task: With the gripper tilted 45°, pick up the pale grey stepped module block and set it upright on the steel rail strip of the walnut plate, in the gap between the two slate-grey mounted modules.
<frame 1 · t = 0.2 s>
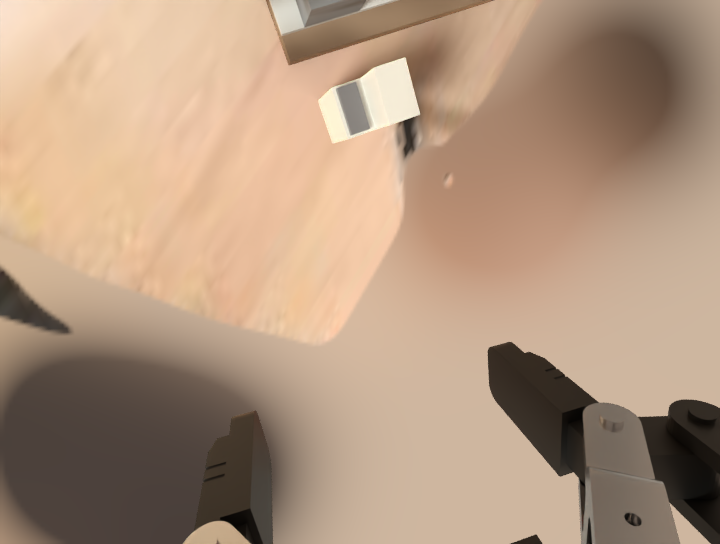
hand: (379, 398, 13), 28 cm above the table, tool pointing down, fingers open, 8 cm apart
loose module: (349, 114, 38), on the table
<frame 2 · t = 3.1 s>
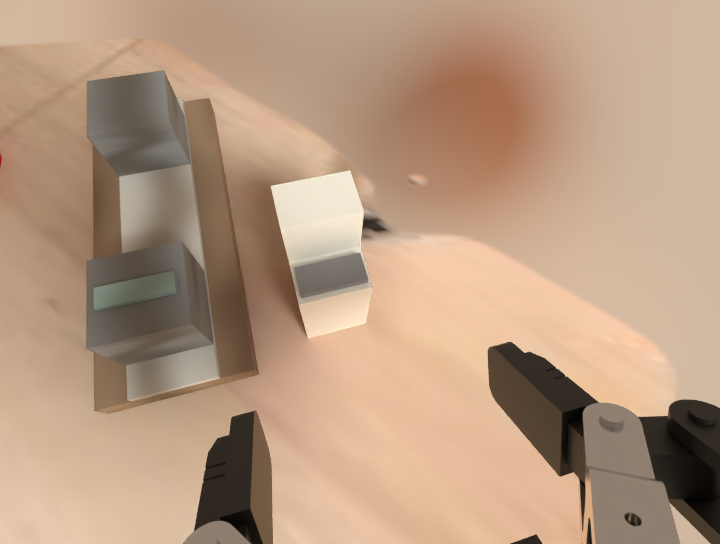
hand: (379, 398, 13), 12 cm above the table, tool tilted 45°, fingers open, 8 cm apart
rail plate: (170, 236, 29), on the table
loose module: (328, 297, 28), on the table
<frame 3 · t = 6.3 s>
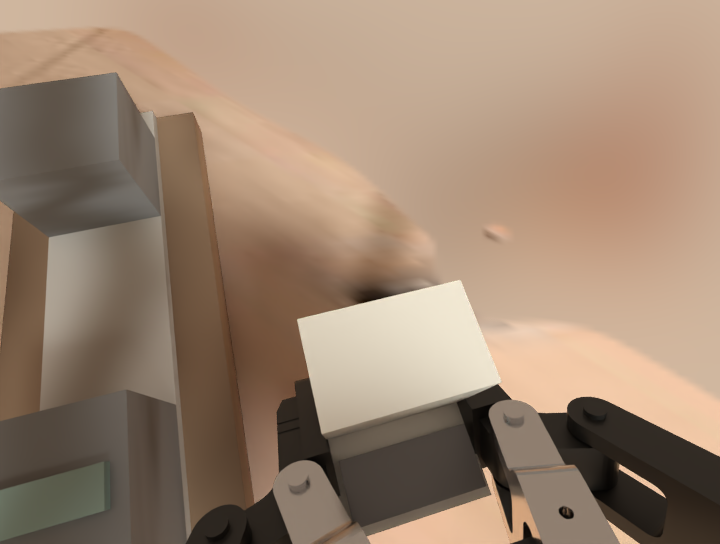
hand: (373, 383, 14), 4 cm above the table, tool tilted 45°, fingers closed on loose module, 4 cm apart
rail plate: (129, 327, 19), on the table
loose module: (375, 432, 17), on the table, touching gripper
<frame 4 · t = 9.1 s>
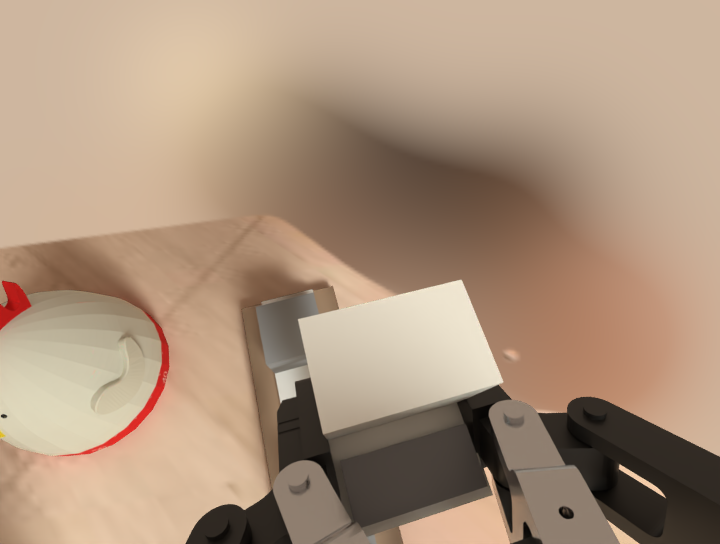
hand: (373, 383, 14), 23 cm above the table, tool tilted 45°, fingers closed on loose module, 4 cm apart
kitchen timer: (94, 373, 37), on the table
rail plate: (315, 419, 36), on the table
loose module: (376, 432, 17), point 19 cm above the table, touching gripper
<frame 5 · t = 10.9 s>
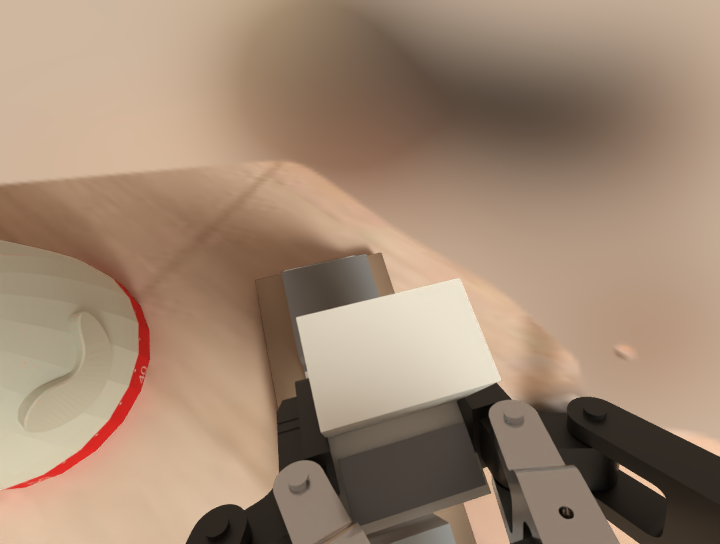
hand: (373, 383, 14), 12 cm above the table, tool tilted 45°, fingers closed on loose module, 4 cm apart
kitchen timer: (39, 368, 26), on the table
rail plate: (361, 438, 25), on the table
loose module: (375, 431, 17), point 8 cm above the table, touching gripper
when the fingers open (7 cm above the table, at t = 12.2 s): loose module stays where it is, resting on rail plate.
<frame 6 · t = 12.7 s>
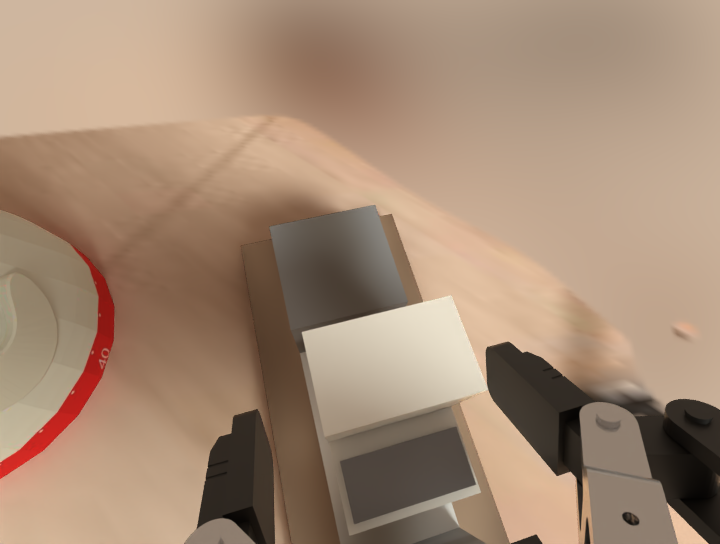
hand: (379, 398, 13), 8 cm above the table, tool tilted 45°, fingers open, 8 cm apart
rail plate: (370, 435, 20), on the table
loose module: (374, 433, 18), point 2 cm above the table, touching rail plate
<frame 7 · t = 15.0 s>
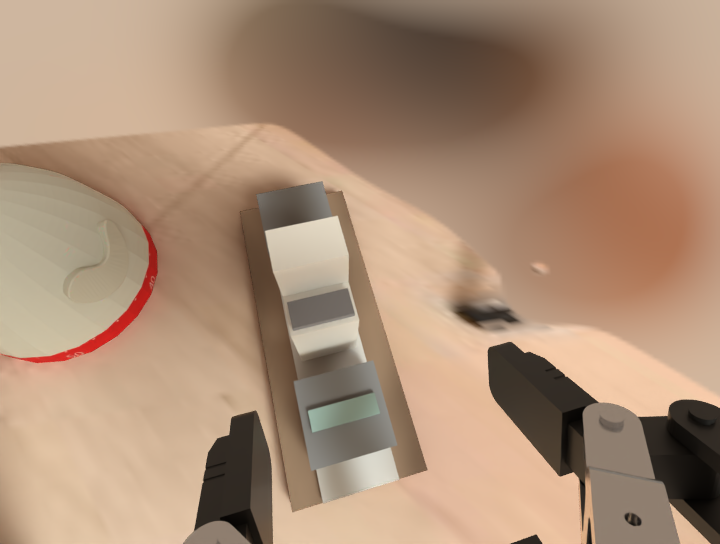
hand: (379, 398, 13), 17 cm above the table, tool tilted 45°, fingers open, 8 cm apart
kitchen timer: (72, 279, 33), on the table
rail plate: (322, 329, 31), on the table
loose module: (321, 322, 30), point 2 cm above the table, touching rail plate
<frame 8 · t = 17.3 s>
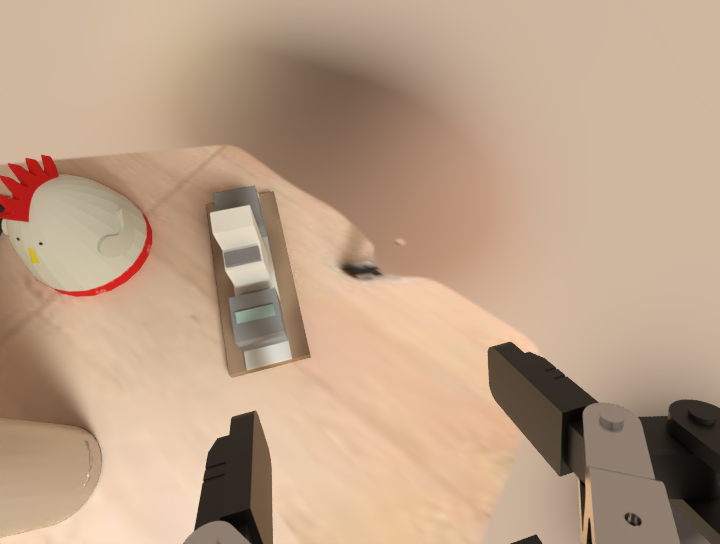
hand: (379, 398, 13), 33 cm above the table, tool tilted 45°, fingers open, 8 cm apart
kitchen timer: (97, 247, 51), on the table
rail plate: (256, 278, 50), on the table
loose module: (253, 271, 48), point 2 cm above the table, touching rail plate
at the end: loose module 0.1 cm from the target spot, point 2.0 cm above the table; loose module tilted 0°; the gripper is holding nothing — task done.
